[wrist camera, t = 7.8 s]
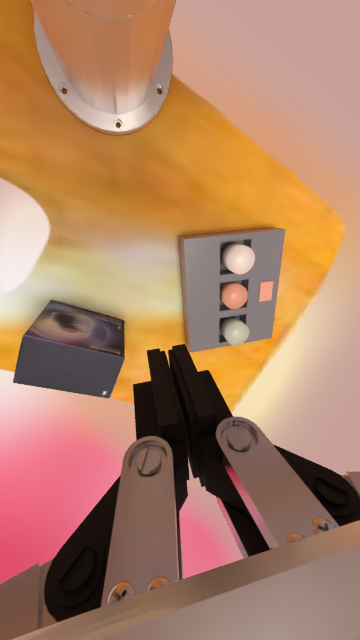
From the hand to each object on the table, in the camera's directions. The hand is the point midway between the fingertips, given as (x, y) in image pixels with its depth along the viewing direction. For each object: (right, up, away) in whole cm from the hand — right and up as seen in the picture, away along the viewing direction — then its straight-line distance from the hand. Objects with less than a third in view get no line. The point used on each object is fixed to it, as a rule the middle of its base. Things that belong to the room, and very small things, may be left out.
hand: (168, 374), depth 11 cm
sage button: (+9, +1, +27) cm, 28 cm away
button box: (+8, +7, +27) cm, 29 cm away
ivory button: (+8, +11, +22) cm, 26 cm away
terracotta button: (+8, +7, +26) cm, 28 cm away
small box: (-14, +1, +25) cm, 28 cm away
